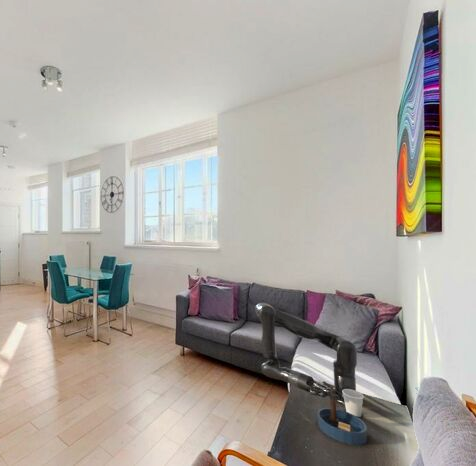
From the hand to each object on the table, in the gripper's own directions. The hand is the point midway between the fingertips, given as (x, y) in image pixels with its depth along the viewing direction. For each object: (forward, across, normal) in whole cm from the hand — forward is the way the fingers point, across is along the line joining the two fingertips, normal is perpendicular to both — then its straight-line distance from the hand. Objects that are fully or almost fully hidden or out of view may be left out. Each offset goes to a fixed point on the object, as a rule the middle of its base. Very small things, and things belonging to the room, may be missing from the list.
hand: (340, 396), depth 127 cm
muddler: (-3, 0, +13) cm, 13 cm away
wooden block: (+3, -4, +14) cm, 15 cm away
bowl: (+1, -2, +15) cm, 15 cm away
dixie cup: (-2, +18, +15) cm, 24 cm away
